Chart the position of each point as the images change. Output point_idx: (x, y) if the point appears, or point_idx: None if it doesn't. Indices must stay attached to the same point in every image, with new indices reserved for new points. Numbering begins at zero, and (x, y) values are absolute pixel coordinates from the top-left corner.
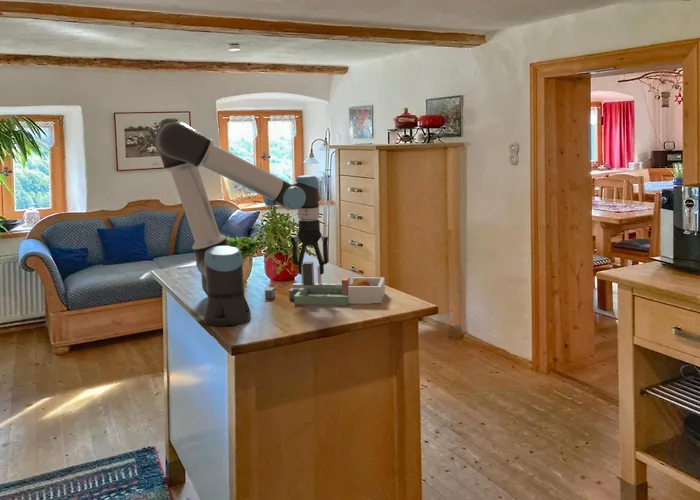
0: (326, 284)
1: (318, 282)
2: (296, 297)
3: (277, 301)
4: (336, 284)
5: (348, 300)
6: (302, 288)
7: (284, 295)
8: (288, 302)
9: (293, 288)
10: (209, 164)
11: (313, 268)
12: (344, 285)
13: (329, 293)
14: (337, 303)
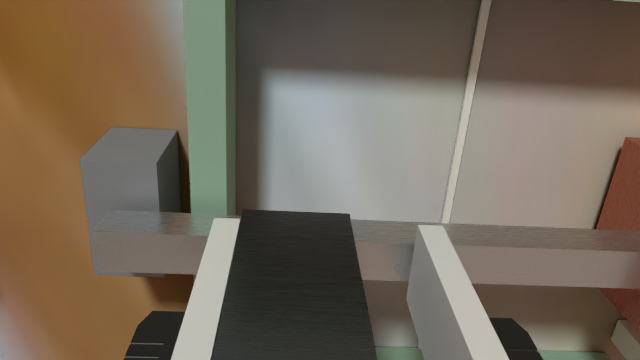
0: (496, 278)
1: (413, 310)
2: None
3: (42, 290)
4: (605, 278)
5: (625, 356)
6: (209, 175)
7: (20, 99)
8: (146, 315)
9: (112, 197)
10: None
11: (373, 351)
12: None
13: (479, 55)
14: None
